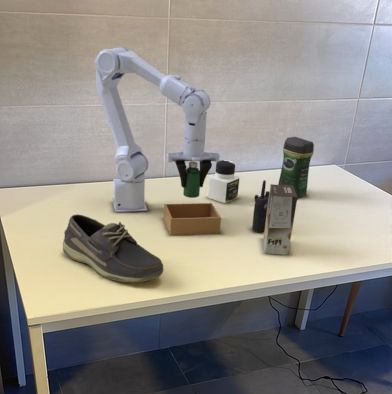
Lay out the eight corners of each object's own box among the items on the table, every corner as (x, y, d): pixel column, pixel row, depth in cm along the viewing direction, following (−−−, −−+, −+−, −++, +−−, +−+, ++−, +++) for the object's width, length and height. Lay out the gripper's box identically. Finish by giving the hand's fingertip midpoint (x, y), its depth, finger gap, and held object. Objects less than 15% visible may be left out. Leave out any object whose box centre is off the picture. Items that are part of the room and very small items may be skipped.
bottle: (185, 198, 154) (186, 165, 149) (181, 192, 157) (183, 160, 153) (200, 197, 155) (203, 165, 150) (197, 192, 158) (199, 160, 154)
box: (170, 235, 149) (170, 219, 147) (163, 219, 158) (163, 203, 156) (219, 233, 152) (221, 217, 150) (210, 217, 161) (211, 203, 159)
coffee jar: (309, 196, 183) (319, 140, 174) (294, 200, 179) (303, 143, 169) (288, 187, 189) (297, 133, 180) (273, 191, 185) (280, 136, 175)
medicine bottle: (225, 203, 172) (228, 166, 166) (207, 198, 175) (210, 161, 169) (237, 198, 177) (241, 162, 171) (219, 192, 180) (223, 157, 174)
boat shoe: (144, 294, 121) (145, 251, 115) (48, 257, 133) (45, 216, 128) (171, 276, 129) (173, 234, 123) (79, 242, 141) (77, 203, 136)
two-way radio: (258, 234, 153) (265, 182, 146) (245, 229, 156) (252, 178, 148) (269, 229, 157) (277, 178, 149) (257, 224, 159) (264, 174, 152)
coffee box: (288, 255, 143) (298, 197, 134) (264, 253, 143) (272, 195, 134) (285, 240, 151) (294, 185, 142) (262, 239, 150) (269, 183, 142)
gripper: (171, 142, 143) (169, 191, 150) (224, 142, 146) (219, 190, 153) (166, 135, 149) (164, 183, 156) (217, 135, 152) (213, 182, 159)
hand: (191, 186), depth 155 cm, fingers closed on bottle, 4 cm apart
